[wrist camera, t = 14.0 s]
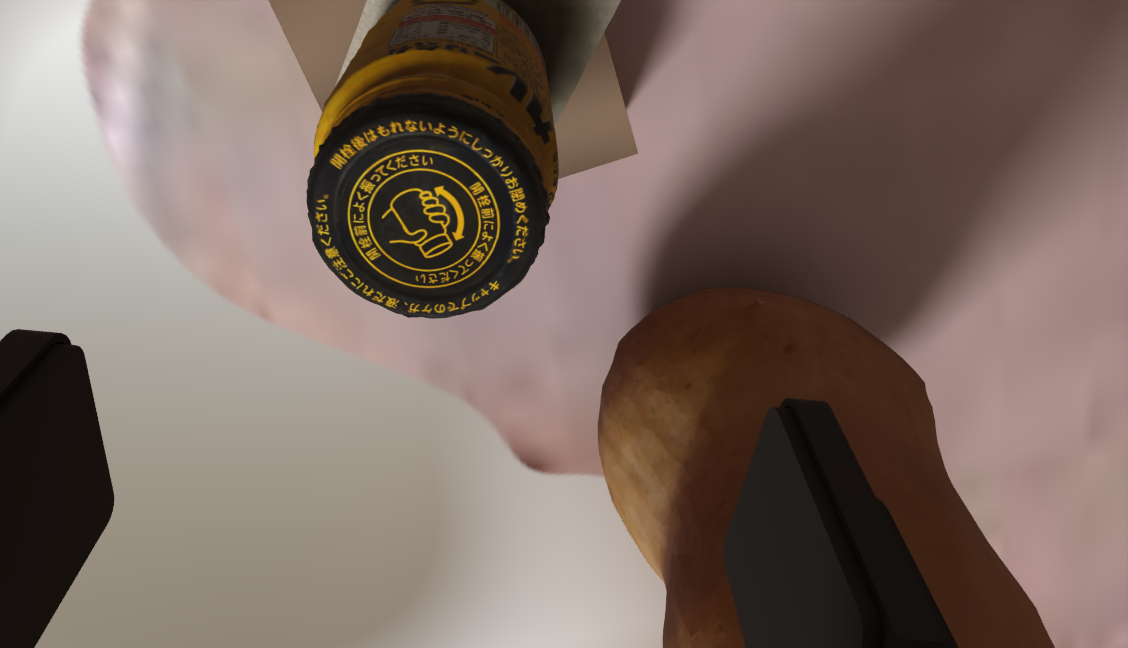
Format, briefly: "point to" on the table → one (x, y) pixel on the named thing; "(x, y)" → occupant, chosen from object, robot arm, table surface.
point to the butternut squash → (729, 436)
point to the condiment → (446, 147)
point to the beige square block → (583, 132)
